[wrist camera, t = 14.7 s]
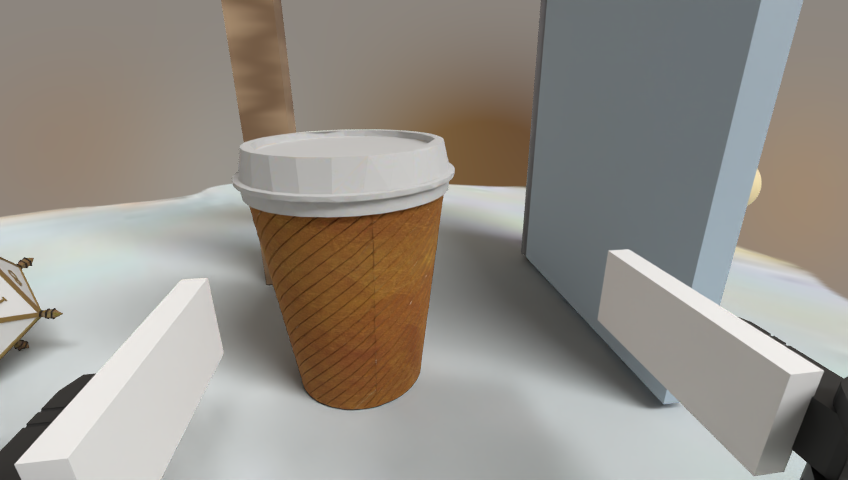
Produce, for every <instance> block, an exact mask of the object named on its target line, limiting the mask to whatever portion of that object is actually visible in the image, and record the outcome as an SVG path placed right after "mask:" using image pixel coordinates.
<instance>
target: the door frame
mask: <svg viewBox="0 0 848 480" xmlns="http://www.w3.org/2000/svg"><path fill="white" fill-rule="evenodd" d="M221 1H222V8H223V14H224V21H225V27H226V33H227V39H228V46H229V52H230V57H231V64H232V70H233V77H234V83H235V89H236V95H237V102H238V108H239V115H240V120H241V127H242V133H243V140H244V142H247V141H250V140H254V139H258V138H262V137H269V136H275V135H282V134H290V133H296V127H295V120H294V110H293V101H292V93H291V86H290V85H291V84H290V77H289V67H288V59H287V49H286V41H285V32H284V23H283V15H282V6H281V0H221ZM260 246H261V243H260ZM261 252H262V259H263V265H264V271H265V277H266V284H267V285H268V284H273V282H272V279H271V276H270V274H269V269H268V266H267V263H266V261H265V256H264V253H263V250H262V248H261Z"/></svg>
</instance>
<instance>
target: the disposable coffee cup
mask: <svg viewBox="0 0 848 480" xmlns="http://www.w3.org/2000/svg"><path fill="white" fill-rule="evenodd" d="M454 170H455V168H454V167H453V165H451V164H450V163H449V162H448V158H447V153H446V148H445V143H444V140H443V138H442V137H439V136H436V135H433V134H428V133H422V132H413V131H401V130H379V129H371V130H369V129H367V130H363V129H362V130H328V131H327V130H326V131H310V132H298V133H290V134H282V135H275V136H269V137H262V138H258V139H254V140H250V141H247V142H244V143H243V144H242V145H240V152H239V169H238V172H237V173H235V174H234V175H233V177H232V182H233V186H234V187H235V188H236V189H237V190H238V191H240V192H241V195H242V199H243V202H245V203H246V204H247V205H249V207H250V210H251V213H252V216H253V221H254V224H255V227H256V230H257V235H258V237H259V240H260V243H261V248H262V250H263V253H264V256H265V261H266V263H267V266H268V269H269V274H270V276H271V279H272V282H273V287H274V289H275V292H276V296H277V299H278V302H279V305H280V309H281V312H282V315H283V320H284V323H285V325H286V329H287V332H288V335H289V338H290V342H291V345H292V348H293V352H294V355H295V358H296V362H297V365H298V368H299V372H300V375H301V378H302V383H303V385H304V388H305V390H306V391H307V392H308V393H309V395H310V396H311V397H313V398H314V399H315V400H317V401H318V402H320V403H323V404H326V405H328V406H331V407H336V408H341V409H365V408H371V407H376V406H379V405H382V404H385V403H387V402H390V401H392V400H394V399H396V398H398V397H400V396H401V395H403V394H404V393H405V392H406V391H408V390H409V389H410V388H411V387H412V385H413V384H414V383H415V381H416V380H417V378H418V376H419V374H420V369H421V360H422V352H423V344H424V337H425V329H426V321H427V314H428V308H429V300H430V291H431V284H432V276H433V270H434V262H435V254H436V249H437V239H438V231H439V224H440V216H441V209H442V201H443V195H444V194H445V193H446V191H447V190H448V184H449V180H451V179H452V178H453V176H454Z"/></svg>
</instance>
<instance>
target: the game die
mask: <svg viewBox="0 0 848 480" xmlns="http://www.w3.org/2000/svg"><path fill="white" fill-rule="evenodd" d="M33 259H34V258H25V257H24V258H23V260H20V261H19V262H18V264H14V263H12V262H10V261H8V260H6V259H3V258H1V257H0V360H1V359H2V358H3V356H4V355H5V354H6V353H7V352H8V351H9V350H10V349H11V348H12V347H13V346H14V347H15V349H19V351H20V350H22V349H25V348H29V346H28V342H27V341H24V340H20V339H21V338H22V337H23V336H24V335H25V334H26V333H27V332H28V330H29V329H30V328H31V327H32V326H33V325H34V324H35V323H36V322H37V321H38V320H39V319H40V318H41V317H45V318H47V319H49V318H52V319H55V318H56V317H58V316H60V315H62V314H63V313H61V312H59V311H57V310H56V309H55V308H54V309H47V310H44V311H43V310H41V309H40V307H39V304H38V302H37V300H36V298H35V296H34V294H33V292H32V290H31V288H30V286H29V284H28V282H27V280H26V278H25V276H24V274H23V272H22V270H21V269H22V268H28V266H32V262H33Z"/></svg>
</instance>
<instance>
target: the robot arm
mask: <svg viewBox="0 0 848 480" xmlns="http://www.w3.org/2000/svg"><path fill="white" fill-rule="evenodd" d="M597 320H598V321H599V322H600V323H601V324H602V325H603V326H604V327H605V328H606V329H607V330H608V331H609V332H610V333H611V334H612V335H613V336H614V337H615V338H616V339H617V340H618V341H619V342H620V343H621V344H622V345H623V346H624V347H625V348H626V349H627V350H628V351H629V352H630V353H631V354H632V355H633V356H634V357H635V358H636V359H637V360H638V361H639V362H640V363H641V364H642V365H643V366H644V367H645V368H646V369H647V370H648V371H649V372H650V373H651V374H652V375H653V376H654V377H655V378H656V379H657V380H658V381H659V382H660V383H661V384H662V385H663V386H664V387H665V388H666V389H667V390H668V391H669V392H670V393H671V394H672V395H673V396H674V397H675V398H676V399H677V400H678V401H679V402H680V403H681V404H682V405H683V406H684V407H685V408H686V409H687V410H688V411H689V412H690V413H691V414H692V415H693V416H694V417H695V418H696V419H697V420H698V421H699V422H700V423H701V424H702V425H703V426H704V427H705V428H706V429H707V430H708V431H709V432H710V433H711V434H712V435H713V436H714V437H715V438H716V439H717V440H718V441H719V442H720V443H721V444H722V445H723V446H724V447H725V448H726V449H727V450H728V451H729V452H730V453H731V454H732V455H733V456H734V457H735V458H736V459H737V460H738V461H739V462H740V463H741V464H742V465H743V466H744V467H745V468H746V469H747V470H748V471H749V472H750V473H751V474H752V475H753V476H758V475H765V474H772V473H778V472H784V470H785V468H786V465H787V463H788V460H789V458H790V455H791V453H792V450H793V451H794V452H796V453H797V454H798V455H799V456H800V457H801V458H803V459H804V460H805V461H806V462H807V463H806V466H805V468H804V470H803V473H802V475H801V478H800V480H848V377H846V378H844V379H843V378H842V377H840V376H838V375H837V374H835V373H834V372H832V371H830V370H829V369H827V368H825V367H824V366H822V365H821V364H819V363H817V362H816V361H814V360H812V359H811V358H809V357H808V356H806V355H804V354H803V353H801V352H799V351H798V350H796V349H794V348H793V347H791V346H786V343H785V342H783V341H781V340H780V339H778V338H777V337H775V336H771V334H770V333H768V332H767V331H765V330H764V329H762V328H760V327H759V326H757V325H755V324H754V323H752V322H750V321H747V320H745V319H742V318H740V317H737V316H735V315H734V314H732V313H730V312H729V311H727V310H726V309H724V308H722V307H721V306H719V305H718V304H716V303H714V302H713V301H711V300H710V299H708V298H706V297H705V296H703V295H702V294H700V293H698V292H697V291H695V290H694V289H692V288H690V287H689V286H687V285H685V284H684V283H682V282H681V281H679V280H677V279H676V278H674V277H673V276H671V275H669V274H668V273H666V272H665V271H663V270H661V269H660V268H658V267H657V266H655V265H653V264H652V263H650V262H649V261H647V260H645V259H644V258H642V257H640V256H639V255H637V254H636V253H634V252H632V251H631V250H629V249H624V250H609V251H608V255H607V262H606V268H605V275H604V281H603V287H602V294H601V300H600V306H599V313H598V319H597ZM223 354H224V351H223V346H222V341H221V337H220V332H219V327H218V323H217V318H216V313H215V309H214V304H213V299H212V295H211V290H210V285H209V281H208V278H196V279H182V280H180V281H179V283H178V284H177V285H176V286H175V287H174V288H173V289H172V290H171V291H170V293H169V294H168V295H167V296H166V297H165V298H164V299H163V300H162V301H161V302H160V304H159V305H158V306H157V307H156V308H155V309H154V310H153V311H152V312H151V314H150V315H149V316H148V317H147V318H146V319H145V320H144V321H143V322H142V324H141V325H140V326H139V327H138V328H137V329H136V330H135V331H134V332H133V333H132V335H131V336H130V337H129V338H128V339H127V340H126V341H125V342H124V343H123V345H122V346H121V347H120V348H119V349H118V350H117V351H116V352H115V353H114V355H113V356H112V357H111V358H110V359H109V360H108V361H107V362H106V363H105V364H104V366H103V367H102V368H101V369H100V370H99V371H98V372H97V373H96V374H87V375H82V376H81V377H79V378H78V379H76V380H75V381H73V382H72V383H70V384H69V385H67V386H66V387H64V388H63V389H61V390H59V391H58V392H57V393H56V394H55V395H54V396H53V397H52V398H51V399H50V400H49V402H48V403H47V404H46V405H45V406H44V407H43V408H42V409H41V412H38V413H37V414H36V415H35V416H34V417H33V418H32V419H31V420H30V421H29V422H28V423H27V426H26V428H22V429H21V430H20V431H19V432H18V433H17V434H16V435H15V436H14V437H13V438H12V440H11V441H10V442H9V443H8V444H7V445H6V446H5V447H4V448H3V449H2V450H1V451H0V480H161V479H162V477H163V475H164V473H165V471H166V469H167V467H168V465H169V463H170V461H171V459H172V457H173V455H174V453H175V451H176V449H177V447H178V445H179V443H180V441H181V439H182V437H183V435H184V433H185V431H186V429H187V427H188V425H189V423H190V421H191V419H192V417H193V415H194V413H195V411H196V409H197V407H198V405H199V403H200V401H201V398H202V396H203V394H204V392H205V390H206V388H207V386H208V384H209V382H210V380H211V378H212V376H213V374H214V372H215V370H216V368H217V366H218V364H219V362H220V360H221V358H222V356H223Z"/></svg>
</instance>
